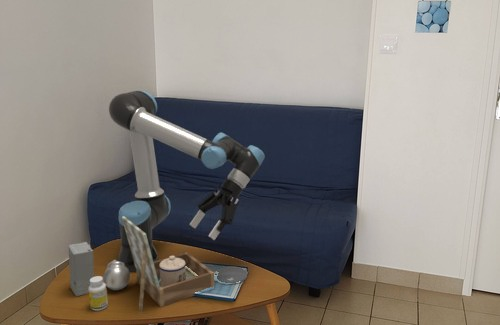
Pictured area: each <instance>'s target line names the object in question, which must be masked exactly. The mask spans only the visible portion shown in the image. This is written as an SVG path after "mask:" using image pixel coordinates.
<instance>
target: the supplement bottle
mask: <svg viewBox="0 0 500 325" xmlns="http://www.w3.org/2000/svg"><path fill="white" fill-rule="evenodd" d="M88 289H89V293H88V295H89V296H88V297H89V305H90V309H91V310H93V311H102V310H104V309H106V308H107V307H108V306H109V301H108V300H109V299H108V291H107V286H106V284H105V282H104V276H100V275H97V276H95V275H94V277H92V278H91V279H90V286H89V288H88Z"/></svg>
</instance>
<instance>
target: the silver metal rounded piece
mask: <svg viewBox="0 0 500 325" xmlns="http://www.w3.org/2000/svg"><path fill="white" fill-rule="evenodd" d="M130 280H131V272H129V270H128V268H127V267H126V266H125V265H124V263H123V262H121V261H118V259H113V260H112V261H110V262H109V263H108V264H107V266H106V270H105V271H104V274H103V283H105V284H106V288H108V289H110V290H112V291H119V290H122V289H124V288H126V287H128V286H127V285H128V284H129V283H130Z"/></svg>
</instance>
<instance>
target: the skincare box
mask: <svg viewBox="0 0 500 325" xmlns="http://www.w3.org/2000/svg"><path fill="white" fill-rule="evenodd" d="M67 248H68V262H69V263H68V264H69V265H68V266H69V283H70V284H69V286H70V289H71V290H72V292H73V294H74V295H75V297H80V296H83V295H89V289H88V288H89V286H90V279H91V278H92V277H95V271H94V269H95V268H94V264H95V263H94V250H93V249H92V247H91V245H90V244H89V243H88V242H87V241H84V242H79V243H73V244H68V247H67Z"/></svg>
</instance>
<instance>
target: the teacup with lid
mask: <svg viewBox="0 0 500 325" xmlns="http://www.w3.org/2000/svg"><path fill="white" fill-rule="evenodd" d="M167 258H168V257H167ZM164 259H165V258H164ZM185 266H186V263H185V261H184V260H183V259H181V258H175V255H170V256H169V258H168V259H165V260H163V261H161V263H160V264H159V268H160V277H159V278H160V286H161V287H165V286H168V285H171V284H174V283H177V282H181V281H184V280H187V273H186V270H187V269H185Z"/></svg>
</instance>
